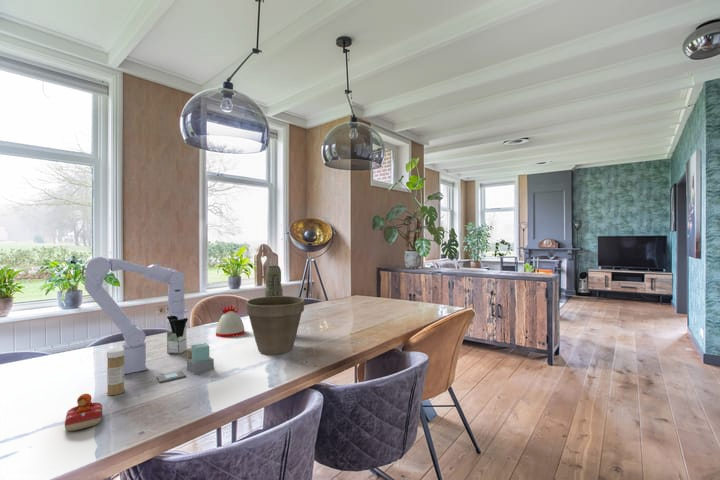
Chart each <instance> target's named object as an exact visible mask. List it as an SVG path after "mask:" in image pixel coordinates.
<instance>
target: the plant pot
mask: <svg viewBox="0 0 720 480" xmlns="http://www.w3.org/2000/svg"><path fill="white" fill-rule="evenodd" d="M245 308H246V309H245V310H246V313H245V314H247V315H248V317H249V321H250V322H249V323H250V325H251V329H252V332H253V337H254V340H255V343H256V347H257V350H258V352H259V353H261V354H263V355H271V356H275V355H281V354H286V353H288V352H291V351H292V350H293V348H294V346H295V342H296V337H297V334H298V330H299V325H300V321H301V318H302V313H303V312H304V311H305V299H304V298H303V297H297V296H288V295H287V296H286V295H283V296H271V297H265V296H263V297H256V298H251V299H248V300H247V301H246V302H245Z"/></svg>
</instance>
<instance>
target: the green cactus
mask: <svg viewBox="0 0 720 480" xmlns="http://www.w3.org/2000/svg"><path fill="white" fill-rule="evenodd" d="M265 283H266V284H265V289H264V297H271V296H284V294H283V287H282V271H281V268H280V266H278V265H269V266H267V267H266V270H265Z"/></svg>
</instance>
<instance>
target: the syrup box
mask: <svg viewBox="0 0 720 480" xmlns="http://www.w3.org/2000/svg"><path fill="white" fill-rule="evenodd" d="M184 318H187V317H186V316H184ZM187 343H188V342H187V324H186V325H185V328H184V333H183V336H182V337H177V336H176V333H172V329H171V325H170V322H169V320H168V319H166V348H167V349H166V351H167V352H166V353H167V354H181V353H184V352H185V351H187V349H188V345H187Z"/></svg>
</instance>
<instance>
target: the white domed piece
mask: <svg viewBox="0 0 720 480" xmlns="http://www.w3.org/2000/svg"><path fill="white" fill-rule="evenodd" d="M238 310H239V308H237V309H236V306H234V307H233V305H232V304H231V305H229V304H228V305H227V308H226V305H224V306H223V308H221V311H222V313H223V314H222V315H221V317H220V318H219V320H217V322H218V323H217V325H216V328H215V337H217V338H233V337H234V338H235V337H239V336H242V335H244V334H245V326H244V323H243V320H242V318H241V316H240V315H239V313H238Z"/></svg>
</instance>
